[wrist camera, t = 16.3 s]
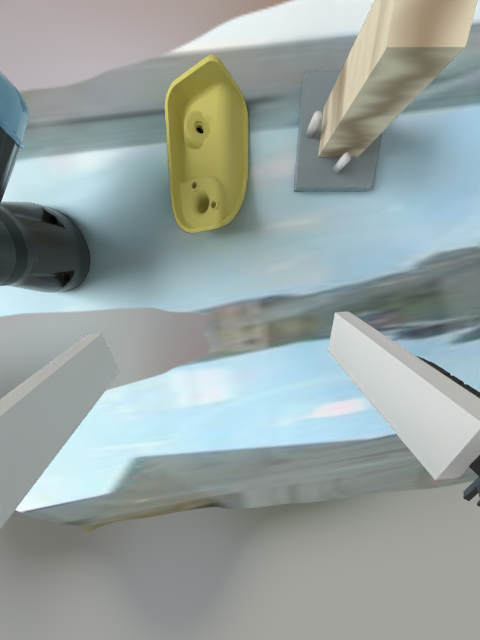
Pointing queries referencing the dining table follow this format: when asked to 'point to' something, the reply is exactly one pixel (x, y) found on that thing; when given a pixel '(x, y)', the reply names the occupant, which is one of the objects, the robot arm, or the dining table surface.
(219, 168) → the plastic component
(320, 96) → the pin plate
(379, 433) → the dining table surface
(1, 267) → the robot arm
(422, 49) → the birch block
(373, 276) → the dining table surface
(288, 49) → the dining table surface
